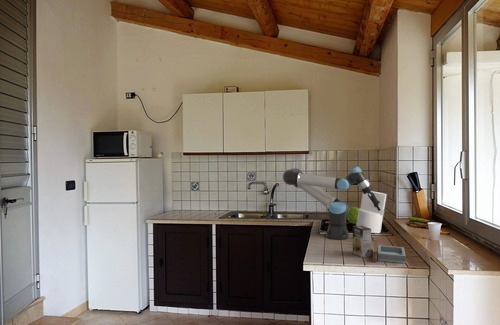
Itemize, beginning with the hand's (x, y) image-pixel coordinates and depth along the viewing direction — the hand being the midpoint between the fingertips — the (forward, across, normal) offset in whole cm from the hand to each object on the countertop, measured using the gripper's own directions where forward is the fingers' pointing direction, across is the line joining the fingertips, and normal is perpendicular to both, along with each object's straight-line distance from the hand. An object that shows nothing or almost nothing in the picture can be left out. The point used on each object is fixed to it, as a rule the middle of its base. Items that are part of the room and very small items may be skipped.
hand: (382, 213), depth 242 cm
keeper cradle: (+19, -46, +6) cm, 50 cm away
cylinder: (+7, +12, +16) cm, 21 cm away
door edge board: (+14, -46, +13) cm, 50 cm away
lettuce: (+3, +38, +21) cm, 43 cm away
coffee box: (+10, -46, +19) cm, 51 cm away
